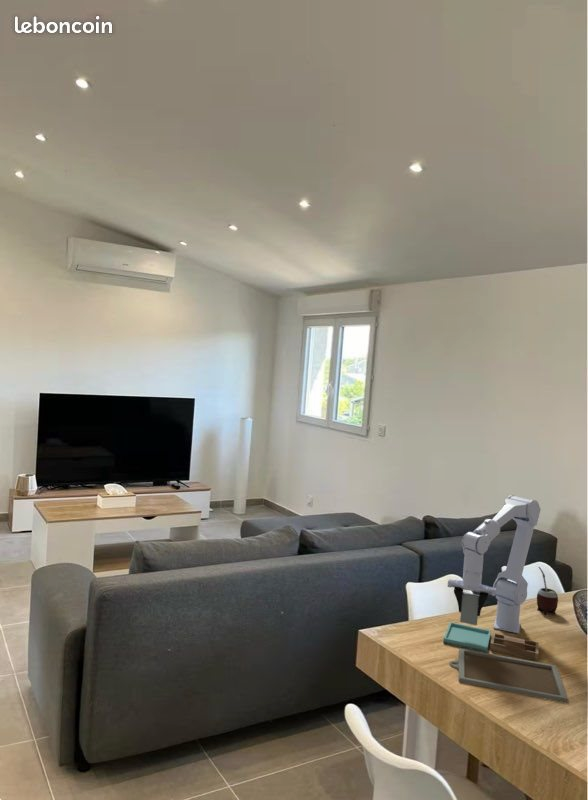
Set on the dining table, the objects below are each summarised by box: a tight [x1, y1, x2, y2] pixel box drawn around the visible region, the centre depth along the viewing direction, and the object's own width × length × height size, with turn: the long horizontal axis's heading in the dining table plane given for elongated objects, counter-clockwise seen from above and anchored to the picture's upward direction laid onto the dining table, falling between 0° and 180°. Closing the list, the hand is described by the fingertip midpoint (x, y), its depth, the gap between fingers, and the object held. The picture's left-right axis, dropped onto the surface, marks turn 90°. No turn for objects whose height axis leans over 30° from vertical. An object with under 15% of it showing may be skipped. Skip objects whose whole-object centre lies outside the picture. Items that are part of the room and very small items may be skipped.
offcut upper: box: [503, 635, 526, 649], centre depth 182 cm, size 3×6×2 cm, turn 69°
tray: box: [442, 621, 492, 653], centre depth 188 cm, size 14×13×2 cm
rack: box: [489, 632, 540, 662], centre depth 183 cm, size 8×14×2 cm, turn 67°
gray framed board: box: [448, 648, 569, 704], centre depth 167 cm, size 19×2×30 cm
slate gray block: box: [459, 591, 479, 626], centre depth 188 cm, size 2×5×9 cm, turn 67°
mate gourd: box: [536, 566, 559, 616], centre depth 216 cm, size 8×8×15 cm
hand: (469, 613), depth 188 cm, fingers closed on slate gray block, 5 cm apart
